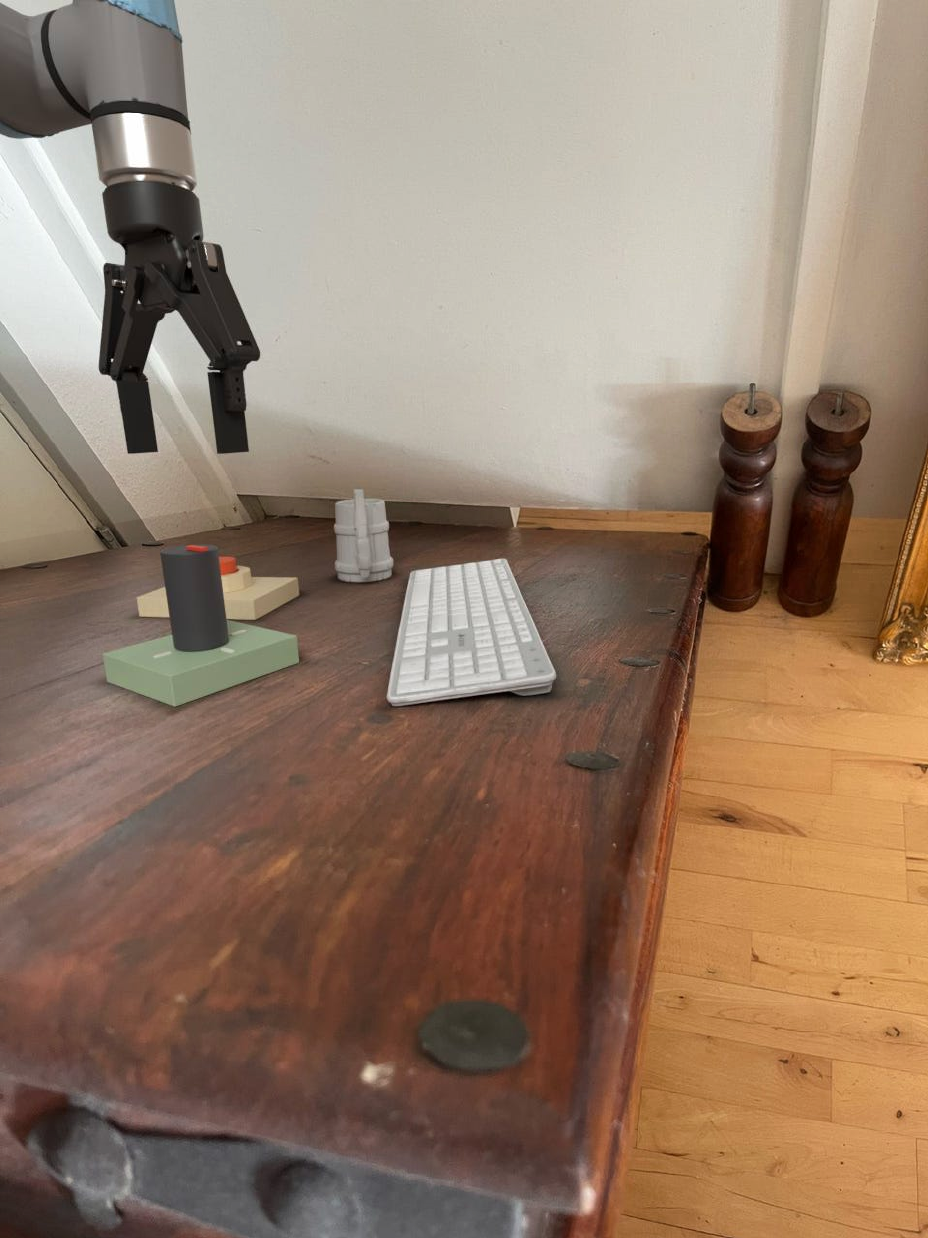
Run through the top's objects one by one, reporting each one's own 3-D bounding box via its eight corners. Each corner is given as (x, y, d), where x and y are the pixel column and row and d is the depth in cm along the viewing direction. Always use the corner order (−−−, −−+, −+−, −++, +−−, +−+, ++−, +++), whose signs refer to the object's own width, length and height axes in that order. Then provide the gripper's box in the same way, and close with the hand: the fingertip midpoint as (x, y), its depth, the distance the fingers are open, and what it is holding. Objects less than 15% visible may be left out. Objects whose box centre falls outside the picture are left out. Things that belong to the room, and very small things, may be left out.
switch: (193, 578, 83) (191, 563, 83) (212, 571, 87) (210, 556, 86) (225, 579, 82) (223, 563, 82) (243, 571, 86) (242, 556, 86)
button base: (139, 616, 82) (133, 581, 81) (194, 593, 92) (190, 561, 91) (255, 620, 79) (251, 583, 78) (299, 595, 89) (296, 562, 88)
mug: (392, 569, 102) (387, 480, 99) (397, 588, 91) (391, 489, 88) (336, 572, 102) (329, 483, 98) (334, 592, 90) (325, 492, 87)
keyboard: (410, 578, 96) (409, 561, 96) (506, 575, 96) (506, 557, 96) (385, 709, 54) (383, 678, 53) (557, 702, 54) (557, 671, 53)
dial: (163, 646, 62) (148, 547, 60) (209, 633, 65) (196, 539, 63) (193, 655, 59) (179, 552, 57) (239, 640, 63) (228, 543, 60)
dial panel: (106, 682, 61) (101, 651, 61) (230, 644, 71) (226, 617, 70) (174, 707, 55) (169, 673, 55) (299, 662, 65) (296, 633, 64)
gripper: (287, 167, 57) (312, 449, 63) (112, 224, 72) (145, 450, 77) (204, 142, 51) (239, 455, 57) (31, 209, 66) (73, 455, 71)
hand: (185, 453), depth 67 cm, fingers open, 13 cm apart
